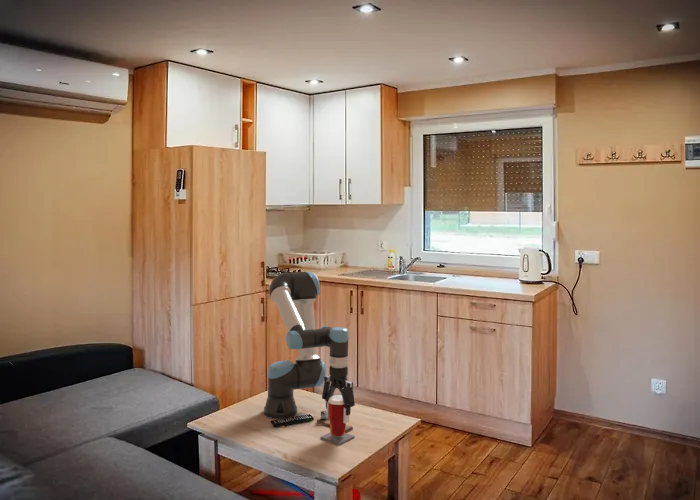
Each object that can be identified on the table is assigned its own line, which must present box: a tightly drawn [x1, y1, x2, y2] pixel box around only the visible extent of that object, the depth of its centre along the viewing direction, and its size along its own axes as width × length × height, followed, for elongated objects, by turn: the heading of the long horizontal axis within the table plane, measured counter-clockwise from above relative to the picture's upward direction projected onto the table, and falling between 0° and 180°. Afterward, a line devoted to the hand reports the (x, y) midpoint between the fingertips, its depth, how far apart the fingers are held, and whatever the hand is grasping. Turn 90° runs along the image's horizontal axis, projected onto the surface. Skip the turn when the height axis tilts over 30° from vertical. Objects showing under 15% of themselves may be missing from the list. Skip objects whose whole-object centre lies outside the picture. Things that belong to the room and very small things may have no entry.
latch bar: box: [320, 409, 330, 419], centre depth 260 cm, size 15×3×3 cm, turn 144°
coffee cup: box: [328, 394, 347, 436], centre depth 237 cm, size 8×8×15 cm
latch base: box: [316, 417, 354, 434], centre depth 251 cm, size 17×4×1 cm, turn 51°
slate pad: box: [320, 432, 355, 446], centre depth 238 cm, size 10×10×1 cm
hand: (337, 419), depth 238 cm, fingers closed on coffee cup, 8 cm apart
